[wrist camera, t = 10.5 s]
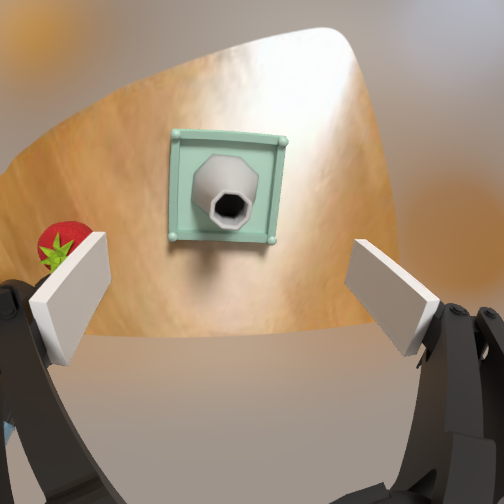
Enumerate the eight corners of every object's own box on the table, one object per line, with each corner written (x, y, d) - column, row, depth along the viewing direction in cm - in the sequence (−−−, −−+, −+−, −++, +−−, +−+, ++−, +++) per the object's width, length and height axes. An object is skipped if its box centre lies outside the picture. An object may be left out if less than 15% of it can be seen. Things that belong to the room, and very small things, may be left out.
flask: (180, 203, 30) (166, 234, 21) (209, 141, 28) (207, 145, 19) (239, 229, 32) (251, 269, 23) (270, 171, 30) (296, 188, 21)
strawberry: (57, 210, 29) (13, 238, 20) (109, 207, 30) (74, 237, 21) (64, 254, 32) (27, 293, 23) (114, 254, 33) (86, 297, 24)
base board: (170, 234, 33) (166, 242, 30) (173, 129, 28) (170, 128, 26) (272, 238, 35) (276, 246, 32) (283, 136, 30) (290, 136, 28)
